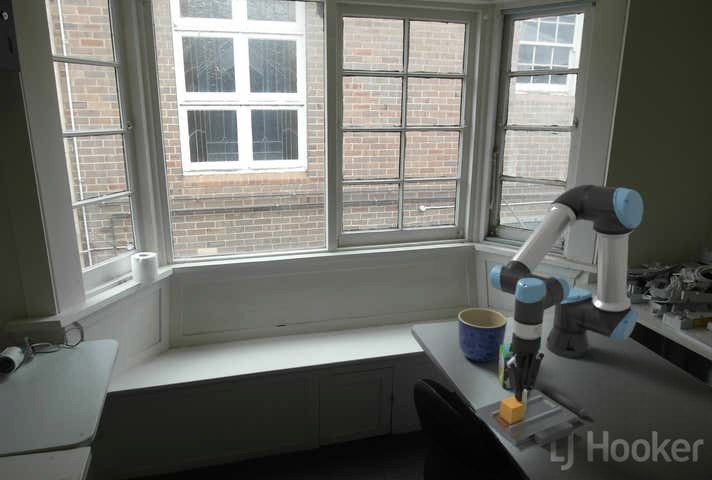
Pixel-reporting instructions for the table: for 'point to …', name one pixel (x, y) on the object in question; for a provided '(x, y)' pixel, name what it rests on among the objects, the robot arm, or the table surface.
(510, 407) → the block
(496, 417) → the breaker panel
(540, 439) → the grey bar
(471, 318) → the planter
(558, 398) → the dark grey rod
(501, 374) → the chalk box
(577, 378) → the table surface
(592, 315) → the robot arm
